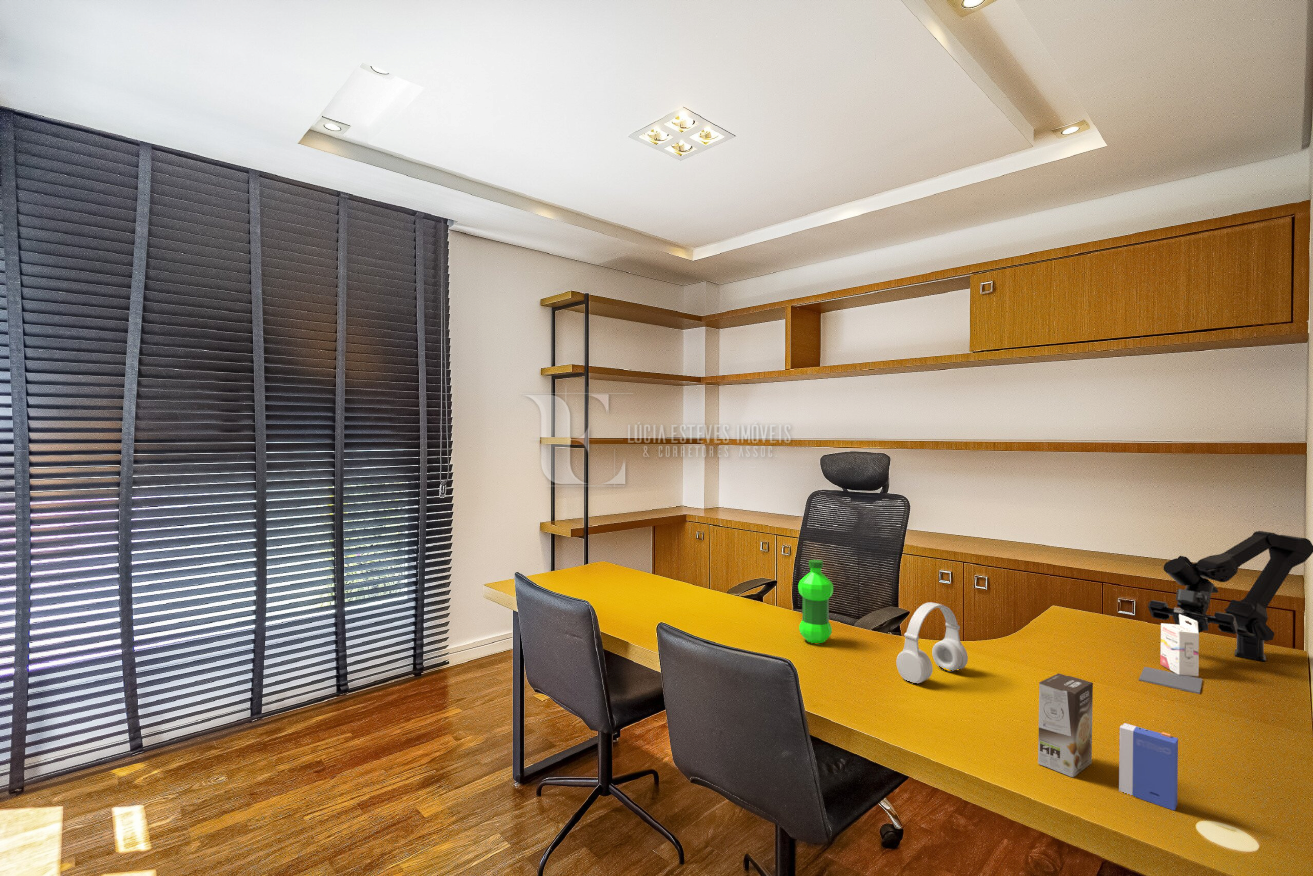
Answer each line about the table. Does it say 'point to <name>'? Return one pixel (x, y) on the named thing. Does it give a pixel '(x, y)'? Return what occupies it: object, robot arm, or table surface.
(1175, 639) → the ink cartridge box
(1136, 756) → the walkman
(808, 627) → the plastic bottle
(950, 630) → the headphones
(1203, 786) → the table surface
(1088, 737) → the coffee box
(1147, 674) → the mat
